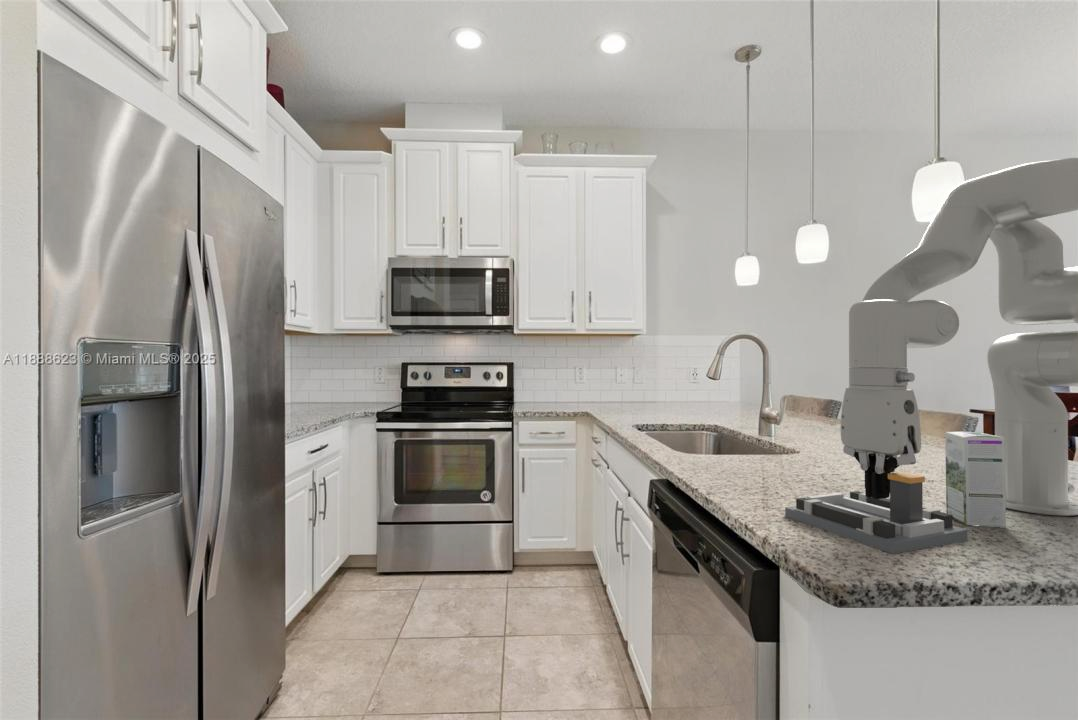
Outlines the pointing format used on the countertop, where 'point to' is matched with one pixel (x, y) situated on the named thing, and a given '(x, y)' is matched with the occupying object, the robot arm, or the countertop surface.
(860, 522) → the pair of dark rails
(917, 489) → the toggle knob
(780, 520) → the countertop surface
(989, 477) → the syrup box
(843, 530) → the breaker panel
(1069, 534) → the countertop surface
